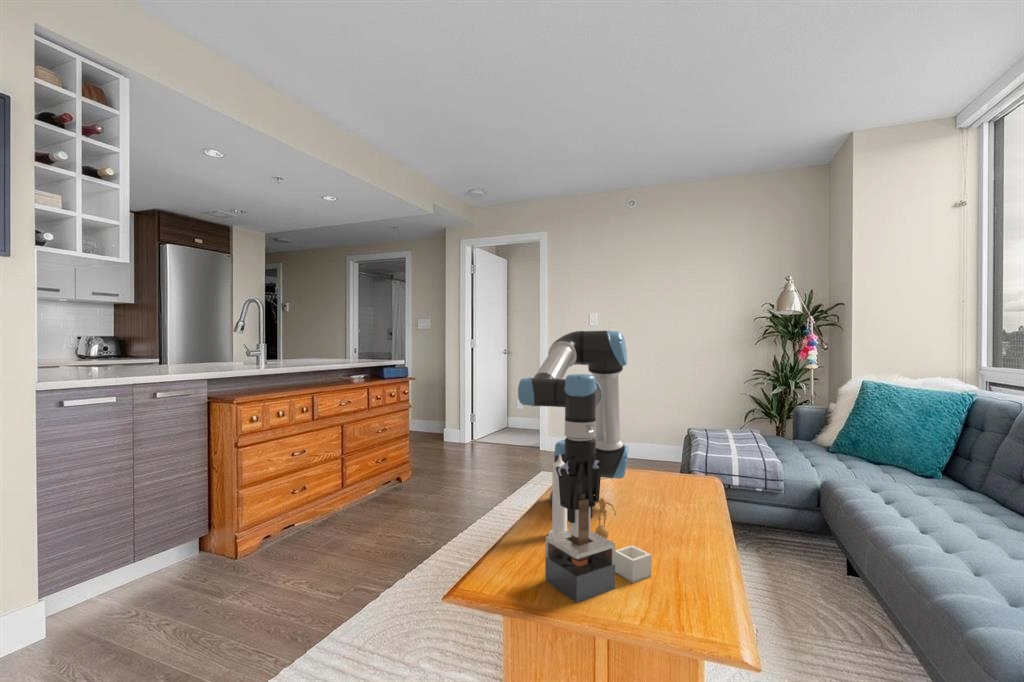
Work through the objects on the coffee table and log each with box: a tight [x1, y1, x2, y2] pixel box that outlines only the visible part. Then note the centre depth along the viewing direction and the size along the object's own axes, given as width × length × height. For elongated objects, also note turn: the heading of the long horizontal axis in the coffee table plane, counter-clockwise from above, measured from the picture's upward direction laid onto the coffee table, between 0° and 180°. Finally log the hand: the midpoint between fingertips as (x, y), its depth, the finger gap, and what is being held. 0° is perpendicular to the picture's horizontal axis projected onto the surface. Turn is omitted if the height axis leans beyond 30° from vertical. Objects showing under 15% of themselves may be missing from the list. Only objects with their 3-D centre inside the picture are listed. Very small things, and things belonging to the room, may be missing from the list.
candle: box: [547, 454, 568, 536], centre depth 147 cm, size 7×7×25 cm
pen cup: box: [615, 544, 652, 584], centre depth 123 cm, size 7×7×6 cm
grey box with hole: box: [544, 530, 616, 604], centre depth 117 cm, size 12×12×11 cm
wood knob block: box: [571, 491, 589, 562], centre depth 117 cm, size 3×3×16 cm
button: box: [572, 558, 588, 567], centre depth 117 cm, size 4×4×6 cm
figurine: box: [594, 497, 617, 539], centre depth 145 cm, size 8×6×12 cm
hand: (579, 533), depth 117 cm, fingers closed on wood knob block, 3 cm apart
